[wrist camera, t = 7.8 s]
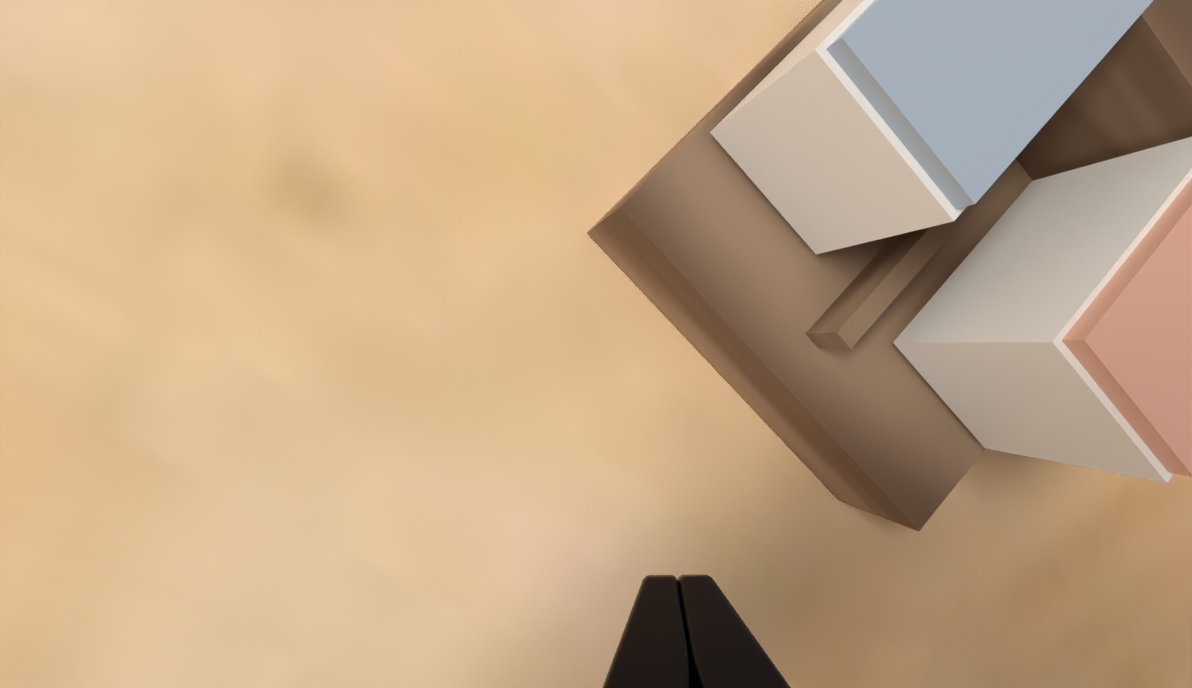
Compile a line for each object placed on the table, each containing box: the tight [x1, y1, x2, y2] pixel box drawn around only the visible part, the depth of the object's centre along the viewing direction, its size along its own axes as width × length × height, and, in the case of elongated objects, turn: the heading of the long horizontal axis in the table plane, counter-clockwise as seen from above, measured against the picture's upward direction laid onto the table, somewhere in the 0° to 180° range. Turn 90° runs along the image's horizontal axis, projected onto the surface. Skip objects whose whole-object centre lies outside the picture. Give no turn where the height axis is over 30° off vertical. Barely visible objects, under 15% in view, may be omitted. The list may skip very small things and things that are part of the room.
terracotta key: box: [893, 137, 1192, 483], centre depth 17 cm, size 7×4×6 cm, turn 135°
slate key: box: [710, 0, 1153, 254], centre depth 16 cm, size 7×4×6 cm, turn 135°
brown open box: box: [587, 0, 1192, 531], centre depth 18 cm, size 12×13×10 cm
